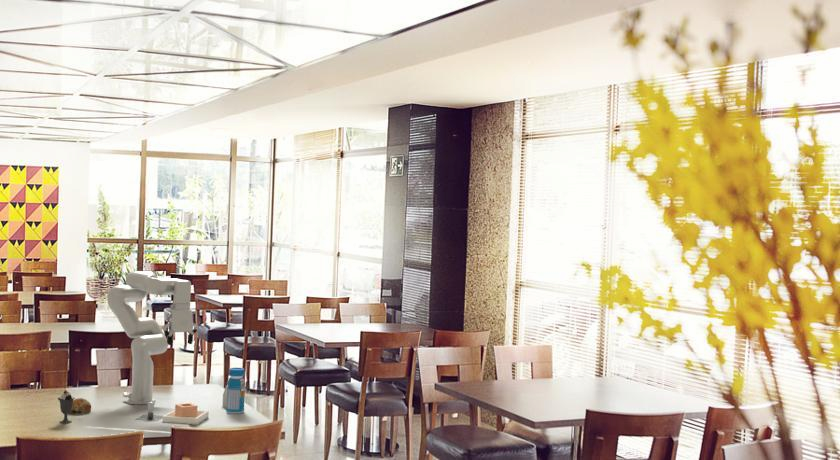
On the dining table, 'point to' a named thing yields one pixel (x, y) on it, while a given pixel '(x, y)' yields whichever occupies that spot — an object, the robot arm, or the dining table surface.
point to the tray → (186, 418)
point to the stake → (150, 414)
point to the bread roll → (80, 406)
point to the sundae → (66, 405)
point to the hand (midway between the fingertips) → (179, 344)
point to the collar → (186, 410)
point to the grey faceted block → (225, 397)
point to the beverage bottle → (235, 391)
